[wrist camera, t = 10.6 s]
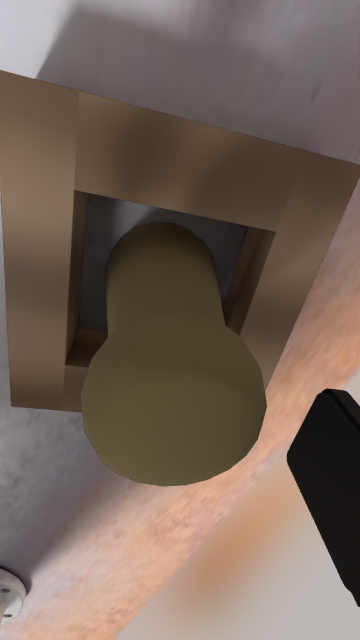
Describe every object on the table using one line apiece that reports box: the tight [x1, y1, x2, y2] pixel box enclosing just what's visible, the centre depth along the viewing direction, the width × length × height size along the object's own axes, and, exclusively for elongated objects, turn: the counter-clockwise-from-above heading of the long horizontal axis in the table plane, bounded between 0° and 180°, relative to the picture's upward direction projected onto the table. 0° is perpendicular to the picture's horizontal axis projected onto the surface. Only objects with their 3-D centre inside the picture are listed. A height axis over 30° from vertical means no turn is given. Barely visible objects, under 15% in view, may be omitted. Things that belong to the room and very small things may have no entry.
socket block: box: [0, 70, 360, 412], centre depth 16 cm, size 14×13×4 cm
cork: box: [81, 223, 267, 486], centre depth 12 cm, size 6×6×11 cm
